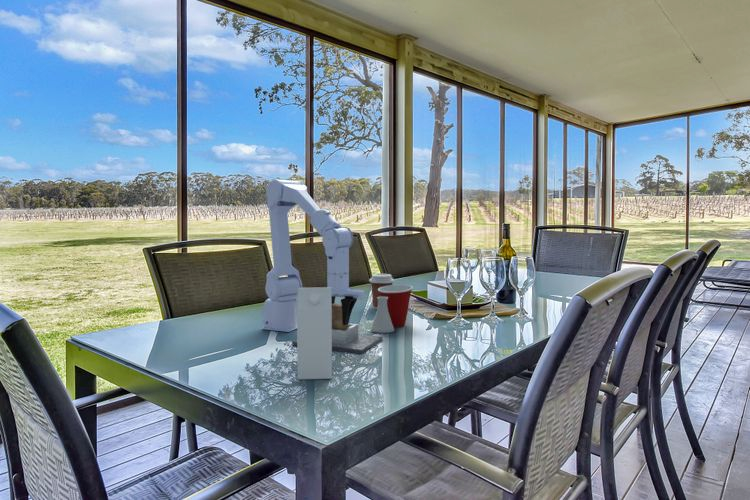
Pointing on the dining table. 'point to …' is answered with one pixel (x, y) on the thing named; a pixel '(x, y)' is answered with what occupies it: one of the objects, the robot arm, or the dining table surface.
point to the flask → (382, 318)
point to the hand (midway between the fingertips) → (338, 323)
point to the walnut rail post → (338, 317)
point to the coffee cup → (379, 285)
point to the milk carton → (314, 333)
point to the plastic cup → (397, 302)
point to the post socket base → (351, 340)
